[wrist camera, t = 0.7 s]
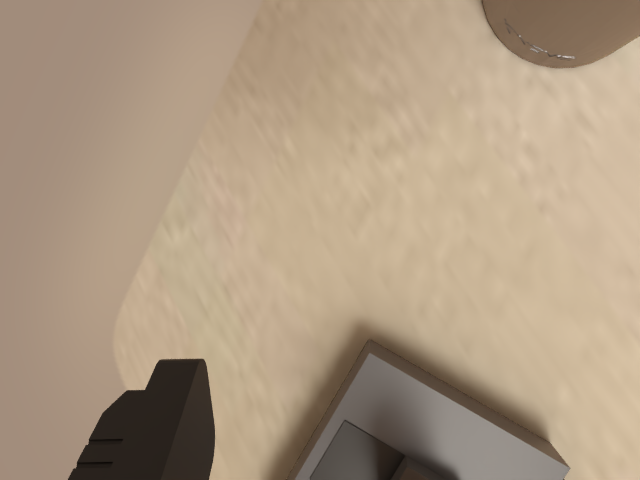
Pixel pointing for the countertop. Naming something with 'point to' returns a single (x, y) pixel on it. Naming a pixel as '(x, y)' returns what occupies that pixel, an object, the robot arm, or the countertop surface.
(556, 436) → the countertop surface
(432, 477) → the handle
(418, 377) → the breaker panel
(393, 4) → the countertop surface
